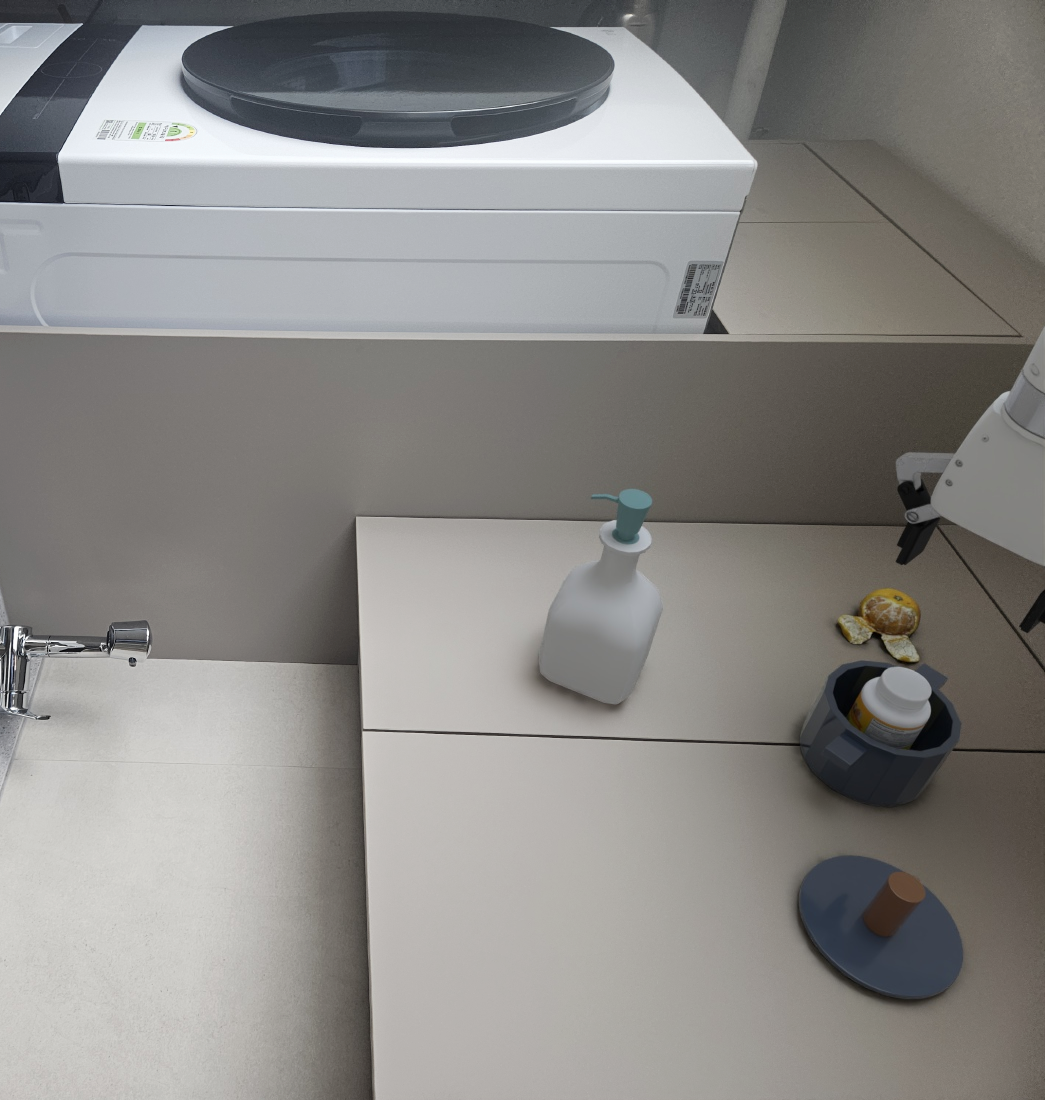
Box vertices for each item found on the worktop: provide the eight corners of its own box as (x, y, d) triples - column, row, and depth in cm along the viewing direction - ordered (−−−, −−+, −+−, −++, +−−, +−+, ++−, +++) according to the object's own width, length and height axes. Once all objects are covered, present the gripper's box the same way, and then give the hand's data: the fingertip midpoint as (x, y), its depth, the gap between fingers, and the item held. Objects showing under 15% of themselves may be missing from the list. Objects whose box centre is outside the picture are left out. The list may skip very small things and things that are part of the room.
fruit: (831, 634, 103) (843, 610, 100) (851, 591, 107) (863, 567, 105) (915, 668, 99) (930, 644, 96) (932, 622, 104) (946, 598, 101)
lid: (986, 942, 77) (1025, 901, 73) (907, 1035, 72) (944, 996, 67) (847, 837, 84) (875, 794, 80) (766, 914, 79) (791, 872, 75)
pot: (963, 752, 91) (999, 701, 86) (868, 844, 84) (902, 794, 79) (855, 681, 98) (883, 631, 93) (759, 761, 90) (783, 711, 85)
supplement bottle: (843, 720, 93) (882, 649, 86) (904, 750, 91) (950, 678, 84) (824, 757, 90) (864, 686, 83) (887, 788, 87) (933, 718, 81)
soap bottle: (561, 623, 104) (600, 453, 89) (649, 656, 101) (704, 485, 86) (529, 681, 98) (565, 509, 83) (621, 718, 94) (675, 545, 79)
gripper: (1247, 444, 61) (1108, 629, 72) (972, 341, 72) (888, 516, 83) (1199, 489, 58) (1062, 676, 69) (918, 374, 69) (839, 552, 80)
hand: (967, 589), depth 76 cm, fingers open, 9 cm apart
